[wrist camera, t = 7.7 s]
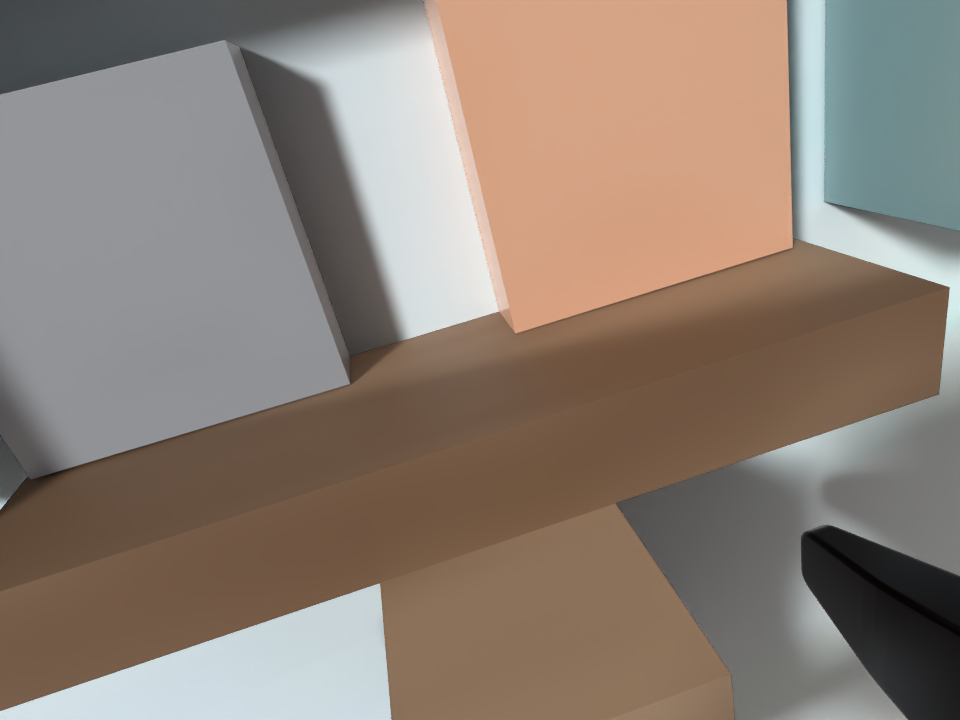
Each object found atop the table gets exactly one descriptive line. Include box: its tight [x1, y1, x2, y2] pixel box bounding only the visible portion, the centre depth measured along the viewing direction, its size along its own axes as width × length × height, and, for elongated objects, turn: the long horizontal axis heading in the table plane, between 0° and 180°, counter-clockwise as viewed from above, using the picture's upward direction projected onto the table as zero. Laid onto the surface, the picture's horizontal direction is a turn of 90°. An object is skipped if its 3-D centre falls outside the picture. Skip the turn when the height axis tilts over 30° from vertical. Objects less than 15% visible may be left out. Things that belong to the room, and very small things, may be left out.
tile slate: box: [0, 40, 350, 480], centre depth 8 cm, size 4×4×2 cm
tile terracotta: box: [423, 0, 793, 334], centre depth 9 cm, size 4×4×2 cm
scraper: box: [0, 238, 950, 720], centre depth 9 cm, size 8×12×6 cm
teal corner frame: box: [824, 0, 960, 231], centre depth 7 cm, size 7×16×3 cm, turn 104°
